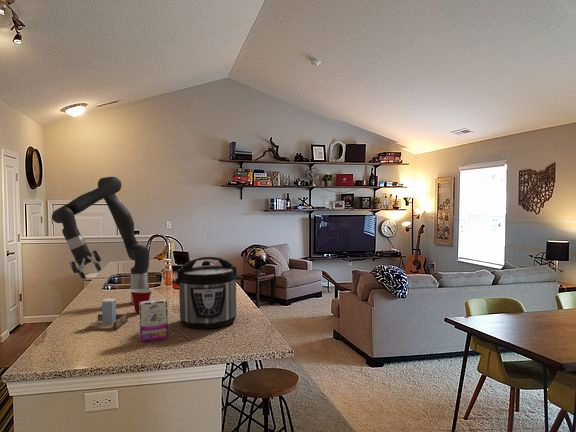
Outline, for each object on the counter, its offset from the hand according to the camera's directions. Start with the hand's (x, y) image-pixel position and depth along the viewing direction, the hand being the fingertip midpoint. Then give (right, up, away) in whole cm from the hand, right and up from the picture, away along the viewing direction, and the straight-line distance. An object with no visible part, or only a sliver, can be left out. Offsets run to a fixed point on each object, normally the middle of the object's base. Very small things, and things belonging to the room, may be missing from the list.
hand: (92, 274), depth 216 cm
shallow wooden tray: (+13, -22, -14) cm, 29 cm away
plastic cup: (+21, -21, +10) cm, 32 cm away
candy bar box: (+41, -23, -34) cm, 58 cm away
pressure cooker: (+60, -22, -9) cm, 65 cm away
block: (+14, -21, -13) cm, 29 cm away
